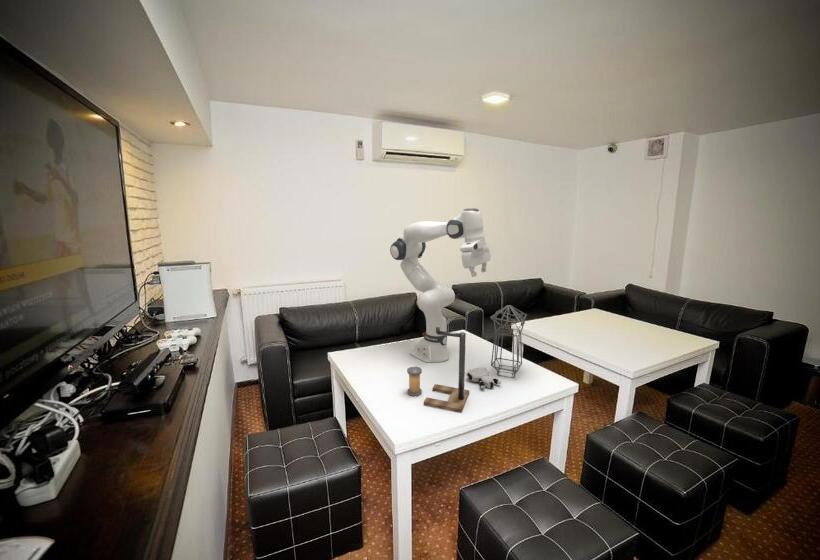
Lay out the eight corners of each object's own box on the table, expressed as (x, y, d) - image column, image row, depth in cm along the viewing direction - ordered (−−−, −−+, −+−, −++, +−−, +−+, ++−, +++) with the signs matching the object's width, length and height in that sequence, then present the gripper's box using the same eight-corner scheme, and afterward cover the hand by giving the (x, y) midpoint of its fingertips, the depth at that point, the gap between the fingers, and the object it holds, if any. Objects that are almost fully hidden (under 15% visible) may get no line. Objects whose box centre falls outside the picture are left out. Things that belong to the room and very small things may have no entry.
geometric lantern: (487, 376, 164) (489, 307, 158) (494, 364, 178) (497, 300, 172) (520, 383, 157) (523, 310, 151) (525, 370, 170) (529, 303, 165)
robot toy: (502, 388, 154) (482, 372, 167) (503, 379, 153) (483, 364, 166) (481, 394, 149) (462, 377, 162) (481, 385, 148) (462, 369, 161)
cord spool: (404, 393, 149) (404, 370, 147) (413, 387, 153) (413, 365, 151) (415, 398, 145) (415, 374, 142) (424, 392, 149) (424, 369, 147)
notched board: (423, 405, 139) (423, 401, 139) (434, 387, 154) (434, 384, 154) (461, 412, 133) (461, 409, 133) (469, 393, 148) (469, 390, 148)
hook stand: (434, 394, 144) (435, 328, 138) (436, 392, 146) (436, 326, 141) (463, 400, 140) (465, 331, 134) (464, 397, 142) (466, 330, 136)
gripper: (480, 241, 160) (483, 269, 163) (457, 248, 145) (461, 279, 148) (492, 240, 156) (495, 269, 159) (470, 247, 141) (474, 279, 144)
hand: (479, 274), depth 153 cm, fingers open, 8 cm apart
